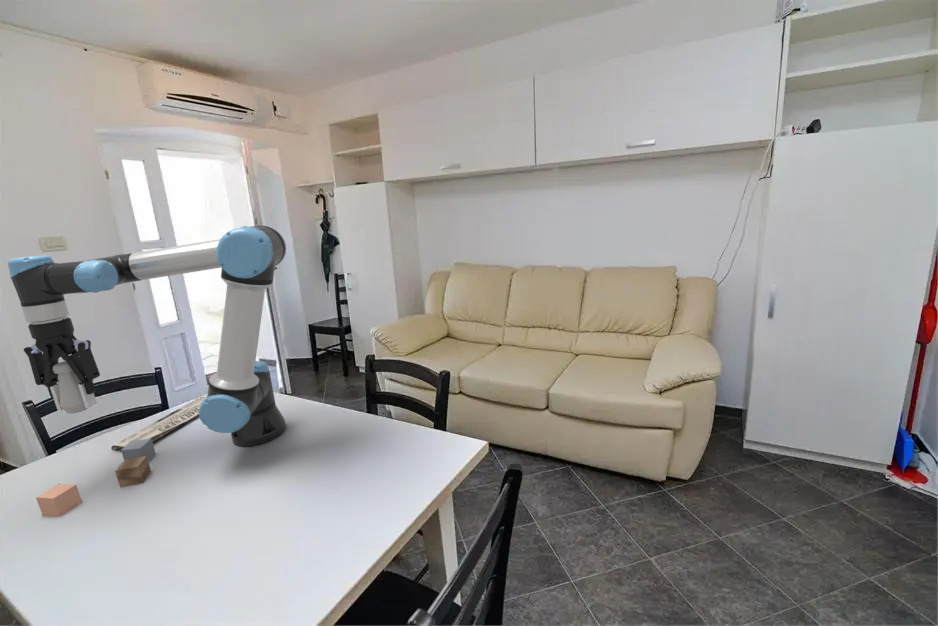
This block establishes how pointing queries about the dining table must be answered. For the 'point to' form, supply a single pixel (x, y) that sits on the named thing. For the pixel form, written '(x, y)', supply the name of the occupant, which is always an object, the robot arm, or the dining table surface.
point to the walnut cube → (133, 471)
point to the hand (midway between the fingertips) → (77, 406)
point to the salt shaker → (69, 388)
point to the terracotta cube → (59, 499)
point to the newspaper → (164, 424)
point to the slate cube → (139, 449)
